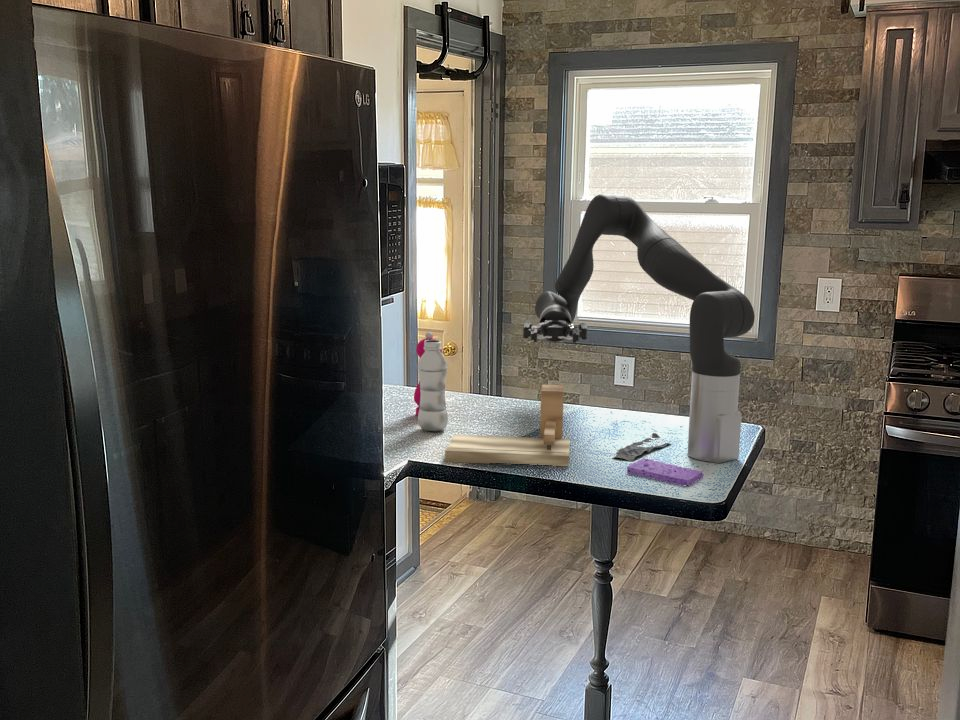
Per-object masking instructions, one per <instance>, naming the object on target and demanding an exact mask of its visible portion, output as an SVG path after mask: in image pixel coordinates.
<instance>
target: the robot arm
mask: <svg viewBox="0 0 960 720" xmlns="http://www.w3.org/2000/svg"><path fill="white" fill-rule="evenodd" d="M602 235H604V236H608V235H609V236H620V237H623V238H626V240H629V241H630V242H631V243H633V245H635V247H636V250H637V251H636V254H637V260H638V264H639V266H640V268H641V269H642V270H643V271H644V272H645V274H647V275H648V276H649V277H650V278H651V279H652V280H653V281H654V283H656V284H658V285H659V286H661V287H662V288H664V289H665V290H667V291H670V292H672V293H675V294H677V295H679V296H682V297H683V298H687V299H689V300H691V301H692V303H691V306H690V312H689V313H690V314H689V356H690V360H691V364H692V365H691V384H690V385H691V386H690V401H689V402H690V403H689V415H688V417H689V419H688V437H687V438H688V439H687V455H688V456H689V457H690V458H693V459H696V460H698V461H705V462H711V463H715V464H721V463H725V462H730V461H733V460H734V461H735V460H738V459H739V458H740V446H741V431H742V430H741V428H742V412H740V411H738V410H739V409H738V408H739V396H740V395H739V394H740V381H741V380H740V379H741V378H740V377H741V365H742V364H741V363H742V362H741V360H740V358H738V357H736V356H734V355H731V354H729V353H727V352H726V351H725V342H724V339H729V338H730V339H731V338H735V337H740V336H743V335H746V334H747V333H748V332H749V331H751V330H752V328H753V326H754V324H755V319H756V318H755V309H754V307H753V304H752V302H751V301H750V299H749V298H748V297H747V296H746V295H745V294H744V293H742V292H741V290H739V289H737V288H735V287H734V286H733V285H731V284H729V283H728V282H727V281H725V280H724V279H722V278H721V277H719V276H718V275H716V274H715V273H713V272H712V271H711V270H710V269H709V268H708V267H707V266H705V265H704V264H703V263H702V262H701V261H699V260H698V259H697V258H696V256H695V257H694V256H693V255H692V254H691V253H690V252H689V251H688V250H687V249H686V248H685V247H684V246H683V245H682V244H680V243H679V242H678V241H677V240H676V239H674V238H673V237H672V236H671V235H669V234H668V232H666V231H665V230H664V229H663V228H662V227H660V225H658V224H657V223H656V222H655V221H654V220H653V219H652V218H651V217H650V216H649V215H648V214H647V212H646V211H645V210H644V208H642V206H641V205H640V204H639V203H638V202H637V201H636V200H635V199H633V198H632V197H630V196H628V195H627V196H626V195H622V194H611V193H610V194H609V193H600V194H597V195H595V196H594V197H593V198H592V199H591V200H590V202H589V204H588V206H587V208H586V210H585V213H584V215H583V218H582V221H581V224H580V226H579V229H578V232H577V234H576V238H575V240H574V244H573V246H572V249H571V253H570V255H569V257H568V258H567V261H566V263H565V265H564V266H563V268H562V270H561V271H560V273H559V275H558V277H557V279H556V280H555V283H554V288H555V289H554V290H555V292H556V293H555V292H553V291H549V290H548V291H547V290H546V291H544V292H542V293H541V294H540V295H539V296H538V297H537V299H536V301H535V304H534V313H535V316H536V317H537V318H538V320H539V321H538V322H539V323H537V324H536V325H533V323H531V322H530V321H526V322H525V323H524V325H523V328H522V329H523V330H522V331H523V333H522V336H523V337H522V338H523V339H528V338H529V337H530V340H531V341H533V343H537V342H538V339H539V340H546V341H548V342H551V343H560V342H562V341H565V340H566V341H567V340H568V341H569V340H572V343H573V344H576V343H577V342H579V341H580V338H581V339H582V340H587V339H588V326H587V324H586V323H584V322H581V323H579V324H578V326H575V325H574V324H573V322H574V320H575V318H576V315H577V310H578V304H579V300H580V297H581V296H582V294H583V292H584V290H585V288H586V287H587V285H588V283H589V282H590V280H591V278H592V276H593V273H594V268H595V266H594V264H595V263H594V255H593V252H594V251H593V249H594V246H595V244H596V242H597V241H598V240H599V238H601V236H602Z"/></svg>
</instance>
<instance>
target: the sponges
mask: <svg viewBox="0 0 960 720" xmlns="http://www.w3.org/2000/svg"><path fill="white" fill-rule="evenodd" d="M626 473H627V474H630V475H636V476H638V475H639V477H643V476H644V478H647V477H650V478H649V479H652V478H655V479H654V480H656V479H658V480H657V481H660V480H662V481H661V482H665V481H666V483H669V484H674V483H676V484H675V485H678V484H681V485H680V486H683V485H690V486H692V485H693V484H694V483H696V482H697V481H699V480H701V479H702V478H703V477H704V475H703V474H704V473H703V470H699V469H698V470H697V469H692V468H688V467H684V466H683V467H682V466H678V465H675V464H671V463H666V462H662V461H658V460H653V459H651V458H650V459H649V458H646V457H642V458H641V459H639V460H637V461H635V462H633V463H632V464H628V466H626ZM700 478H701V479H700ZM698 479H699V480H698ZM695 481H696V482H695ZM692 483H693V484H692Z"/></svg>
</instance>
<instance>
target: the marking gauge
mask: <svg viewBox="0 0 960 720" xmlns="http://www.w3.org/2000/svg"><path fill="white" fill-rule="evenodd" d="M541 385H542V386H541V389H540V423H539V424H540V425H539V430H540V432H539V438H544V445H547V450H551V445H554V442H555V439H563V427H564V424H563V423H564V395H565V394H564V393H565V390H564V389H565V386H564V384H561V385H560V384H541Z"/></svg>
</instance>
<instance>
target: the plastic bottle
mask: <svg viewBox="0 0 960 720" xmlns="http://www.w3.org/2000/svg"><path fill="white" fill-rule="evenodd" d="M441 346H442V341H441V340H439V339H436V340H426V341H424V350H425V353H424V354H423V355H422V356H421V358H420V357H419V359H420V360H419V359H418V360H419V361H418V360H417V361H418V362H417V373H418V379H419V380H420V389H421V390H420V393H421V396H420V409H419V413H418V417H417V422H418V426H419V427H420V430H423V431H429V432H438V431H443V430H445V429H446V428H447V426H448V422H449V417H448V416H449V415H448V414H449V413H448V409H447V403H446V381H447V373H448V362H447V360H446V358H445V356H444V355H443V354H442V353H441V352H440V350H442V351H443V347H441ZM419 380H418V381H419Z"/></svg>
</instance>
